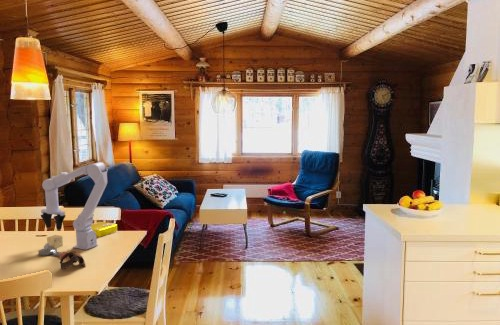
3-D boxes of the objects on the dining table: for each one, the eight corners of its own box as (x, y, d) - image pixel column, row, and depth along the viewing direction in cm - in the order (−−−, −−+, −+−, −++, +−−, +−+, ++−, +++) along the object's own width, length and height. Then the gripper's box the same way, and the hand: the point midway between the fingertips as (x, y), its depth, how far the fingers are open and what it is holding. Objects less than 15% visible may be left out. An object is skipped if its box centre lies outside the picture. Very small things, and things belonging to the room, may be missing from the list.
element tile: (100, 228, 241) (99, 220, 240) (119, 231, 234) (118, 223, 233) (79, 234, 227) (79, 226, 227) (98, 238, 221) (98, 229, 220)
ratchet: (80, 255, 192) (80, 246, 191) (66, 261, 185) (66, 251, 184) (49, 249, 201) (48, 240, 200) (34, 254, 194) (34, 245, 193)
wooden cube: (62, 245, 207) (62, 236, 207) (54, 248, 203) (53, 238, 202) (55, 244, 210) (55, 234, 209) (47, 247, 205) (46, 237, 204)
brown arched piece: (87, 270, 175) (77, 257, 171) (67, 281, 173) (56, 268, 169) (86, 255, 185) (76, 242, 181) (66, 265, 183) (56, 253, 179)
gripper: (69, 201, 205) (70, 227, 206) (48, 199, 211) (50, 224, 212) (57, 204, 198) (59, 231, 200) (36, 202, 204) (38, 228, 206)
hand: (53, 228), depth 206 cm, fingers open, 7 cm apart
